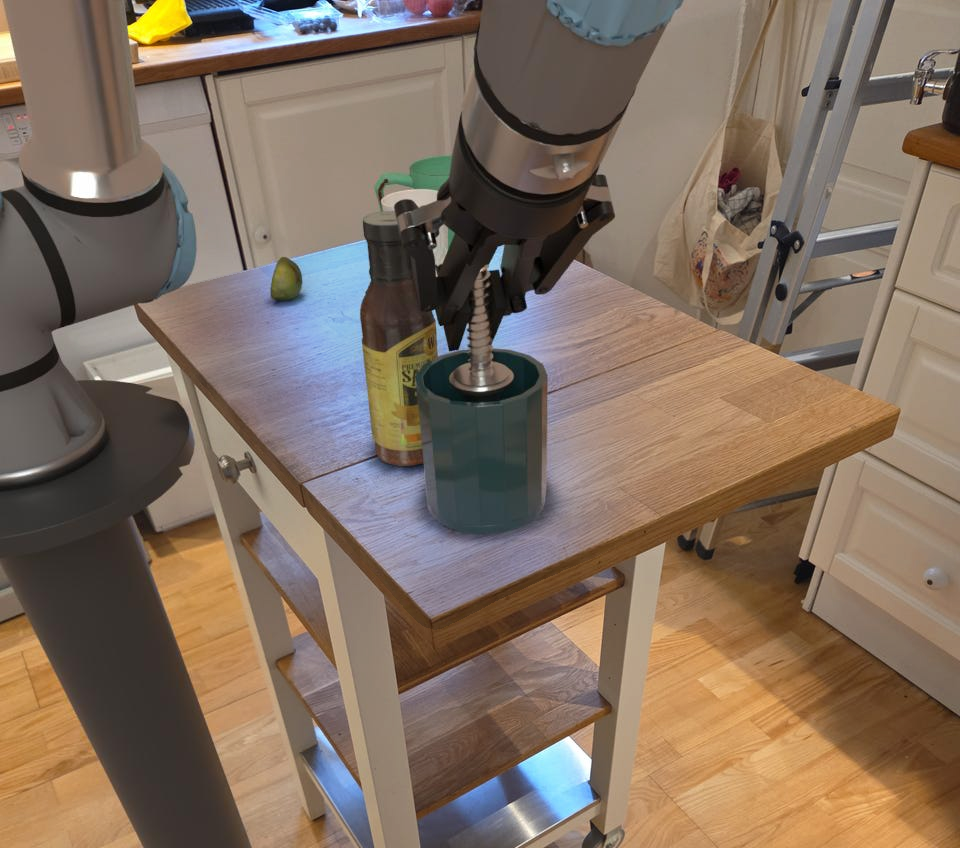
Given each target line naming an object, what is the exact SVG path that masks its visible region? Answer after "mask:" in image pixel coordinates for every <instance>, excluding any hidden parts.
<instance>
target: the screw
mask: <svg viewBox="0 0 960 848" xmlns="http://www.w3.org/2000/svg"><path fill="white" fill-rule="evenodd" d="M489 267H490V264H489V265H483V266H482V268H481V270H480V272H479V274H478V276H477V278H476V280H475V282H474V284H473V286H472V288H471V290H470V292H469V295H468V300H469V304H470V308H471V314H470V317H469V320H468V323H467V325H468V327H466V329H465V331H466V332H468V335H467V336H466V339H467V340H468V341H469V343H468V344H467V345H466V347H467V348H469V349H470V351H469V352H468V355H470V359H469V360H468V362H469V363H466V364H463V365H461V366H459V367H458V368H456V369H455V371H453V372H452V373H451V375H450V377H449V383H450V386H451V387H452V388H453V389H454V390H456V391H458V392H460V393H463V394H465V402H471V403H482V402H493V401H499V392H502V391H504V390H506V389H507V388H509V387H510V386H511V385H512V384H513V381H514V375H513V372H512V371H511V370H510V369H509V368H507V367H506V366H505V365H503V364H501V363H497V362H493V361H492V358H493V354H492V353H491V352H492V350H493V348H494V347H493V342H494V340H492V338H491V337H490V336H491V335H492V330H491V329H490V328H491V327H492V323H491V322H490V321H489V320H490V319H491V318H492V315H491V314H490V313H489V312H490V311H491V309H492V308H491V306H490V305H489V303H490V302H491V298H490V297H489V294H490V293H491V290H490V289H489V288H488V286H489V285H490V284H491V282H490V280H489V279H488V277H489V276H490V272H489V271H490V270H488V269H489ZM491 343H492V345H490V344H491Z"/></svg>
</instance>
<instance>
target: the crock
mask: <svg viewBox="0 0 960 848" xmlns="http://www.w3.org/2000/svg"><path fill="white" fill-rule="evenodd" d="M469 351H470V348H469V349H461V350H460V349H459V350H456V351H451V352H448V353H445V354H441V355H438V357H437V358H435V359H433V360H431V361H430V362H428V363H426V364H424V365H423V366H422V367H421V369H420V370H419V372H418V373H417V374H416V376H415V382H416V393H417V403H418V414H419V424H420V435H421V445H422V455H423V463H422V464H423V474H424V476H423V477H424V485H425V486H424V487H425V494H426V504H427V510H428V511H429V514H430V515H431V516H432V518H433V519H434V520H435V521H436V522H438V523H439V524H440V525H442V526H444V527H446V528H448V529H451V530H453V531H457V532H461V533H465V534H472V535H473V534H474V535H494V534H495V535H496V534H501V533H506V532H510V531H514V530H516V529H519V528H523V527H524V526H526V525H528V524H530V523H531V522H532V521H534V520H535V519H536V518H537V517H539V515H540V514H541V513H542V511H543V509H544V508H545V504H546V495H547V484H548V483H547V478H548V475H547V473H548V471H547V469H548V468H547V467H548V466H547V465H548V386H549V384H548V383H549V382H548V381H549V380H548V378H549V377H548V372H547V370H546V368H545V365H544V364H543V363H542V362H540V361H539V360H538V359H536V358H534V357H533V356H532V355H529V354H526V353H523V352H520V351H516V350H512V349H507V348H506V349H505V348H494V347H493V350H492V352H491V353H492V354H493V358H492V361H493V362H497V363H501V364H503V365H505V366H506V367H507V368H509V369H510V370H511V371H512V372H513V375H514V381H513V384H512V385H511V386H510V387H509V388H507V389H506V390H504V391H502V392H499V401H493V402H482V403H471V402H465V394H463V393H460V392H458V391H456V390H454V389H453V388H452V387H451V386H450V383H449V377H450V375H451V373H452V372H453V371H455V369H456V368H458V367H459V366H461V365H463V364H466V363H469V362H468V360H469V359H470V355H468V352H469Z"/></svg>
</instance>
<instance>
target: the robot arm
mask: <svg viewBox="0 0 960 848" xmlns="http://www.w3.org/2000/svg"><path fill="white" fill-rule="evenodd" d="M684 1H685V0H482V7H481V14H480V20H479V23H478V26H477V31H476V36H475V40H474V46H473V52H472V56H471V61H470V66H469V70H468V75H467V80H466V85H465V89H464V92H463V93H464V94H463V99H462V103H461V111H460V115H459V120H458V124H457V129H456V135H455V139H454V142H453V143H454V144H453V148H452V154H451V155H452V159H451V167H450V176H449V178H448V179H447V181H446V182H445V183H444V184H443V185H442V186H441V187H440V188H439V190H438V193H437V201H435V202H432V203H430V204H427V205H423V206H421V207H418V206H417V205H416V203H415V202H414V201H412V200H410V199H403V200H400V201H398V202H397V203H396V204H395V205H394V210H395V214H396V219H397V223H398V228H399V232H400V236H401V241H402V245H403V248H404V250H405V251H406V252H407V253H408V254H409V255H410V256H411V265H412V273H413V278H414V283H415V287H416V292H417V296H418V301H419V305H420V310H421V311H423V312H430V311H432V312H433V311H434V312H435V316H436V321H437V324H438V326H439V327H443V332H444V335H445V340H446V345H447V349H448V353H451V352H456V351H460V348H461V344H462V341H463V338H464V335H465V332H466V329H467V326H468V320H469V317H470V314H471V308H470V304H469V300H468V295H469V292H470V290H471V288H472V286H473V284H474V282H475V280H476V278H477V276H478V274H479V272H480V270H481V268H482V266H483V265H489V266H490V264H491V262H492V260H493V258H494V256H495V255H496V251H498V248H499V247H502V246H503V250H502V256H501V261H500V269H493V270H488V271H489V272H490V276H489V277H488V279H489V280H490V282H491V284H490V285H489V286H488V288H489V289H490V290H491V293H490V294H489V297H490V298H491V302H490V303H489V305H490V306H491V308H492V309H491V311H490V312H489V313H490V314H491V315H492V318H491V319H490V320H489V321H490V322H491V323H492V327H491V328H490V329H491V330H492V335H491V336H490V337H491V338H492V340H493V341H494V340H495V337H496V335H497V333H498V331H499V328H500V326H501V323H502V321H503V319H504V317H507V316H511V315H512V314H520V313H522V312H524V311H526V310H527V309H528V304H527V301H526V294H527V292H528V293H529V292H531V291H534V294H535V295H538V296H541V295H546V294H547V293H549V292H551V291H552V290H553V288H554V287H555V286H556V284H557V283H558V282H559V280H560V279H561V277H563V275H564V274H565V272H566V271H567V270H568V268H569V267H570V266H571V265H572V263H573V262H574V261H575V260H576V258H577V257H578V255H579V254H580V253H581V251H582V250H583V249H584V248H585V246H586V245H587V244H588V242H589V241H590V240H591V238H592V237H593V236H594V235H595V234H596V233H597V232H599V231H601V230H602V229H603V228H604V227H606V226H607V225H608V224H610V223H611V222H612V221H614V219H615V217H616V213H615V209H614V205H613V201H612V196H611V192H610V189H609V184H608V180H607V176H606V175H605V174H601V173H599V174H598V172H599V169H600V166H601V164H602V162H603V160H604V158H605V157H606V154H607V152H608V150H609V148H610V146H611V144H612V141H613V139H614V138H615V135H616V133H617V131H618V129H619V127H620V125H621V123H622V121H623V119H624V117H625V115H626V112H627V110H628V107H629V104H630V102H631V100H632V98H633V97H634V95H635V93H636V90H637V86H638V84H639V82H640V80H641V78H642V76H643V74H644V72H645V71H646V68H647V66H648V64H649V62H650V60H651V59H652V57H653V54H654V52H655V51H656V48H657V46H658V44H659V43H660V40H661V38H662V36H663V34H664V33H665V30H666V28H667V27H668V25H669V23H670V22H671V21H672V19H673V16H674V14H675V12H676V11H677V10H679V9H680V8H681V7H682V5H683V3H684ZM2 4H3V8H4V9H3V10H4V13H5V18H6V21H7V27H8V31H9V35H10V36H9V37H10V40H11V45H12V49H13V53H14V57H15V58H14V59H15V62H16V66H17V72H18V76H19V80H20V81H19V82H20V86H21V89H22V90H21V91H22V94H23V99H24V104H25V108H26V112H27V117H28V121H29V126H30V130H31V134H32V135H31V136H30V137H29V138H28V139H27V140H26V141H25V142H24V143H23V144H22V145H21V147H20V150H19V154H18V164H19V167H20V172H21V176H22V180H23V185H22V186H18V187H14V188H10V189H6V190H2V191H1V190H0V491H9V490H17V489H23V488H28V487H32V486H36V485H40V484H44V483H47V482H50V481H53V480H56V479H58V478H61V477H63V476H66V475H68V474H70V473H72V472H74V471H76V470H78V469H80V468H81V467H83V466H84V465H86V464H87V463H89V462H90V461H92V460H93V459H94V458H95V457H96V456H97V455H98V454H100V452H101V451H102V450H103V449H104V447H105V446H106V444H107V442H108V438H109V433H108V429H107V427H106V424H105V421H104V418H103V416H102V413H101V412H100V410H99V409H98V408H97V406H96V405H95V404H94V402H93V401H92V400H91V399H90V397H89V396H88V395H87V393H86V392H85V391H84V390H83V388H82V387H81V386H80V384H79V383H78V382H77V381H78V380H77V379H76V378H75V376H73V374H72V373H71V371H70V370H69V369H68V368H67V366H66V365H65V364H64V362H63V360H62V358H61V355H60V352H59V351H58V348H57V345H56V343H55V340H54V336H53V332H54V331H56V330H59V329H62V328H66V327H68V326H72V325H75V324H79V323H82V322H85V321H87V320H91V319H95V318H97V317H101V316H103V315H107V314H110V313H113V312H116V311H119V310H123V309H126V308H129V307H132V306H135V305H139V304H148V303H152V302H154V301H155V300H158V299H159V298H161V297H162V296H163V295H166V294H169V293H173V292H174V291H177V290H179V289H180V288H182V287H183V286H184V285H185V284H186V283H187V282H188V280H189V279H190V277H191V275H192V273H193V271H194V268H195V264H196V258H197V250H198V249H197V248H198V245H197V232H196V231H197V230H196V225H195V220H194V216H193V213H192V212H190V211H189V209H188V208H189V207H188V204H189V198H188V197H187V194H186V191H185V189H184V186H183V185H182V184H181V182H180V180H179V179H178V177H177V176H176V174H175V173H174V171H172V170H171V169H170V168H169V167H168V166H167V165H166V164H165V163H164V162H163V161H162V159H161V156H160V155H159V153H158V151H157V150H156V149H155V148H154V147H153V146H152V145H151V144H150V143H148V142H147V141H146V140H145V139H143V138H142V134H141V133H142V132H141V125H140V117H139V111H138V109H139V108H138V101H137V93H136V84H135V77H134V67H133V59H132V53H131V45H130V36H129V28H128V20H127V13H126V4H125V0H2ZM442 225H445V226H447V227H448V228H449V229H450V230H452V231H453V232H454V233H455V234H454V237H453V239H452V242H451V244H450V246H449V249H448V251H447V254H446V256H445V259H444V261H443V264H440V265H439V266H437V265H435V257H434V253H433V249H434V248H436V247H437V242H436V237H437V236H438V235H439V228H440V227H441V226H442ZM500 271H501V272H500ZM436 272H437V276H438V277H436ZM490 345H492V346H493V342H492V343H491V344H490Z"/></svg>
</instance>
